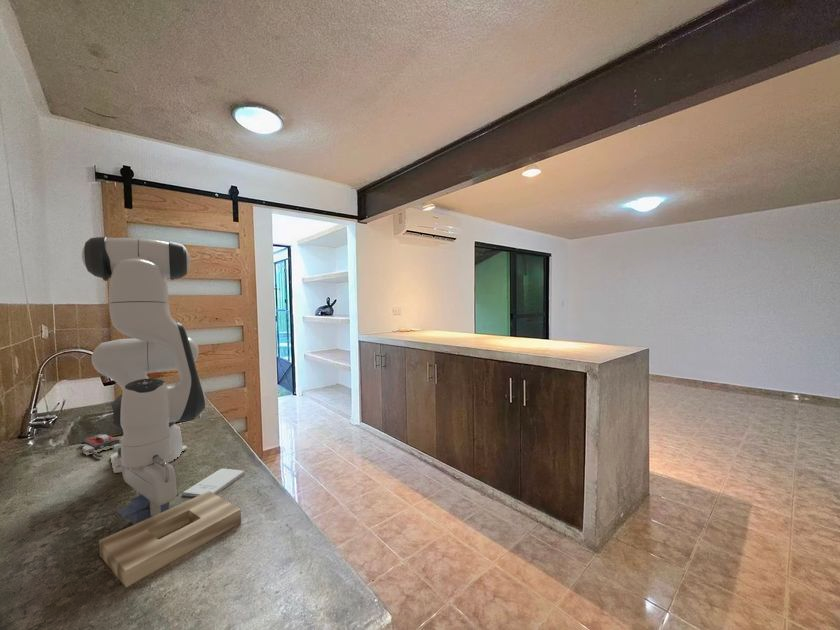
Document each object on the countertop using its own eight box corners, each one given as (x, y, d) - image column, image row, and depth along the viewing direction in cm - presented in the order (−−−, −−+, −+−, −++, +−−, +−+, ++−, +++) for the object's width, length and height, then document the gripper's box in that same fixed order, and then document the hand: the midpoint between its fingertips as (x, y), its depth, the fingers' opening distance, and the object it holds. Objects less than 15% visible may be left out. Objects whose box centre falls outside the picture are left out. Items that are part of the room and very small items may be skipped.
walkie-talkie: (72, 449, 114) (96, 462, 104) (71, 437, 113) (95, 448, 104) (105, 440, 121) (130, 451, 112) (105, 428, 121) (130, 438, 112)
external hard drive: (244, 476, 95) (208, 501, 83) (220, 473, 97) (182, 497, 85) (244, 470, 95) (208, 494, 83) (220, 468, 97) (181, 491, 84)
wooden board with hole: (99, 555, 64) (99, 540, 64) (209, 502, 81) (209, 490, 81) (126, 587, 57) (125, 570, 57) (241, 522, 74) (240, 509, 74)
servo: (118, 526, 73) (117, 500, 73) (171, 503, 81) (170, 480, 81) (125, 533, 71) (124, 506, 70) (179, 508, 79) (178, 484, 79)
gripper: (184, 456, 73) (186, 517, 73) (147, 437, 83) (149, 490, 84) (149, 468, 67) (151, 534, 68) (114, 446, 78) (116, 503, 79)
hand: (149, 510), depth 76 cm, fingers closed on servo, 4 cm apart
